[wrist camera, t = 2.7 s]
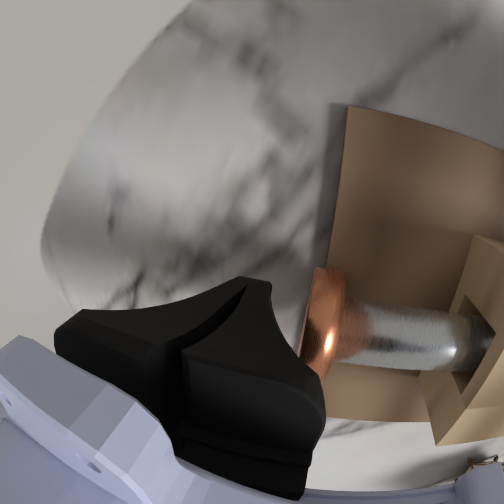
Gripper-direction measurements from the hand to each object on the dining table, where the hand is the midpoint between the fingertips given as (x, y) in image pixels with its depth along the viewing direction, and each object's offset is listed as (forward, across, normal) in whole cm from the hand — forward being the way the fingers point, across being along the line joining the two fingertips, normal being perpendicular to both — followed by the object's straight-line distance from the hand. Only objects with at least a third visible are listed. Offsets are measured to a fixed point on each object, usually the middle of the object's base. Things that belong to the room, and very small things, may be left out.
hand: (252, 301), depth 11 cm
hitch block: (+2, -10, 0) cm, 10 cm away
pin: (+1, -7, 0) cm, 7 cm away
